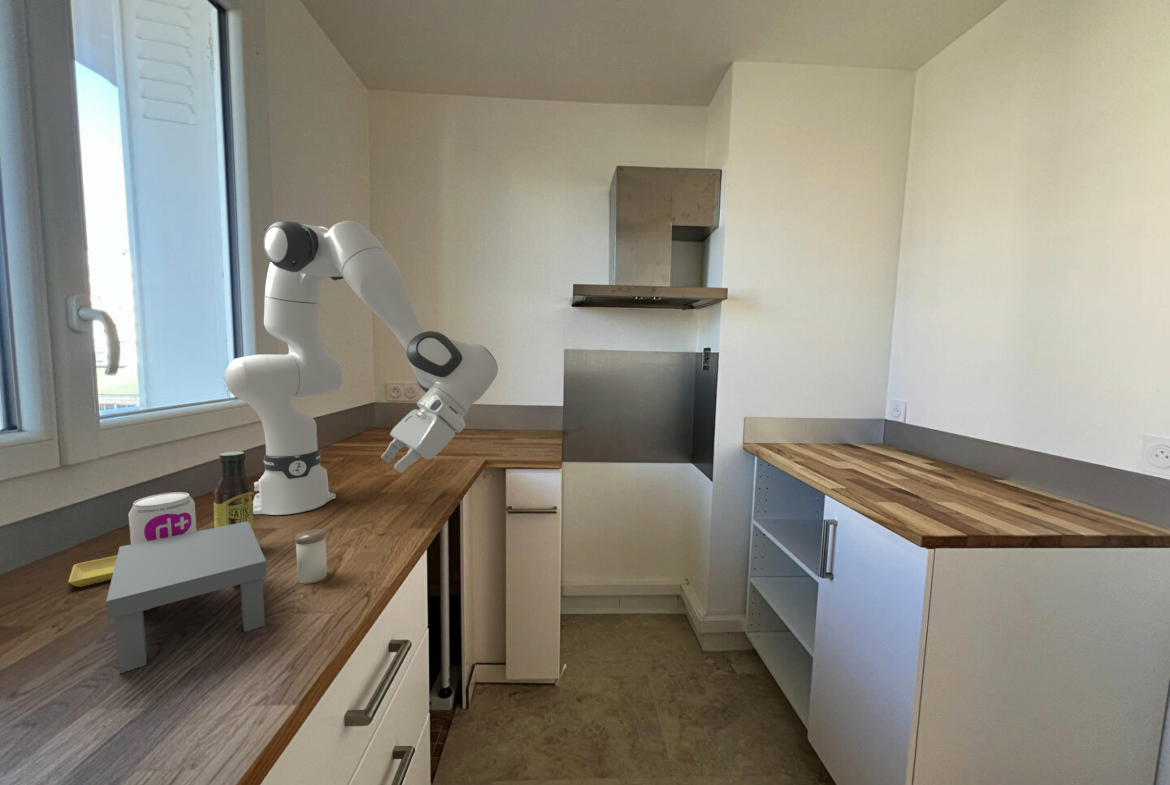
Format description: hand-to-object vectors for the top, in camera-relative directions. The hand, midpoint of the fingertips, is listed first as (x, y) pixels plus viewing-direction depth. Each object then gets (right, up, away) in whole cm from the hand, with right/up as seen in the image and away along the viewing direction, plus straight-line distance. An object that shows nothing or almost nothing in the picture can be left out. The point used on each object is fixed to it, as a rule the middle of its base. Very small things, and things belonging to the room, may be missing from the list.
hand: (390, 465), depth 87 cm
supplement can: (-35, -19, -9) cm, 41 cm away
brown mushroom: (-11, -19, -6) cm, 23 cm away
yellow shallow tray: (-48, -19, -6) cm, 52 cm away
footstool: (-22, -20, -19) cm, 35 cm away
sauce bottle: (-33, -18, +4) cm, 37 cm away
